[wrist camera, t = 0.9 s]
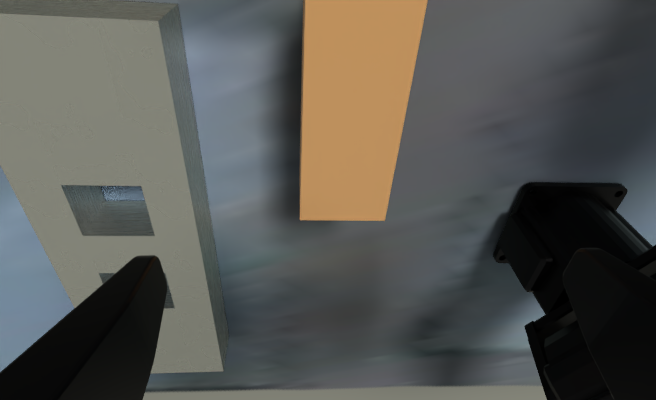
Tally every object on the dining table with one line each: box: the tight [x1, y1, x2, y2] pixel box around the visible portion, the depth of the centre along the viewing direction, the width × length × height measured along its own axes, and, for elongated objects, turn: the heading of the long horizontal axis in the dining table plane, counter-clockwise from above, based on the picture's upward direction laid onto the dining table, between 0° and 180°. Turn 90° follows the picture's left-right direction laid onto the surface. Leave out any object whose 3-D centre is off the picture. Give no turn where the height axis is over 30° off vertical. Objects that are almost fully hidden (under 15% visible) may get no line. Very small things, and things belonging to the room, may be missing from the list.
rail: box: [0, 0, 229, 373], centre depth 22 cm, size 8×24×3 cm, turn 176°
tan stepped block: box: [299, 0, 428, 221], centre depth 16 cm, size 4×9×6 cm, turn 176°
